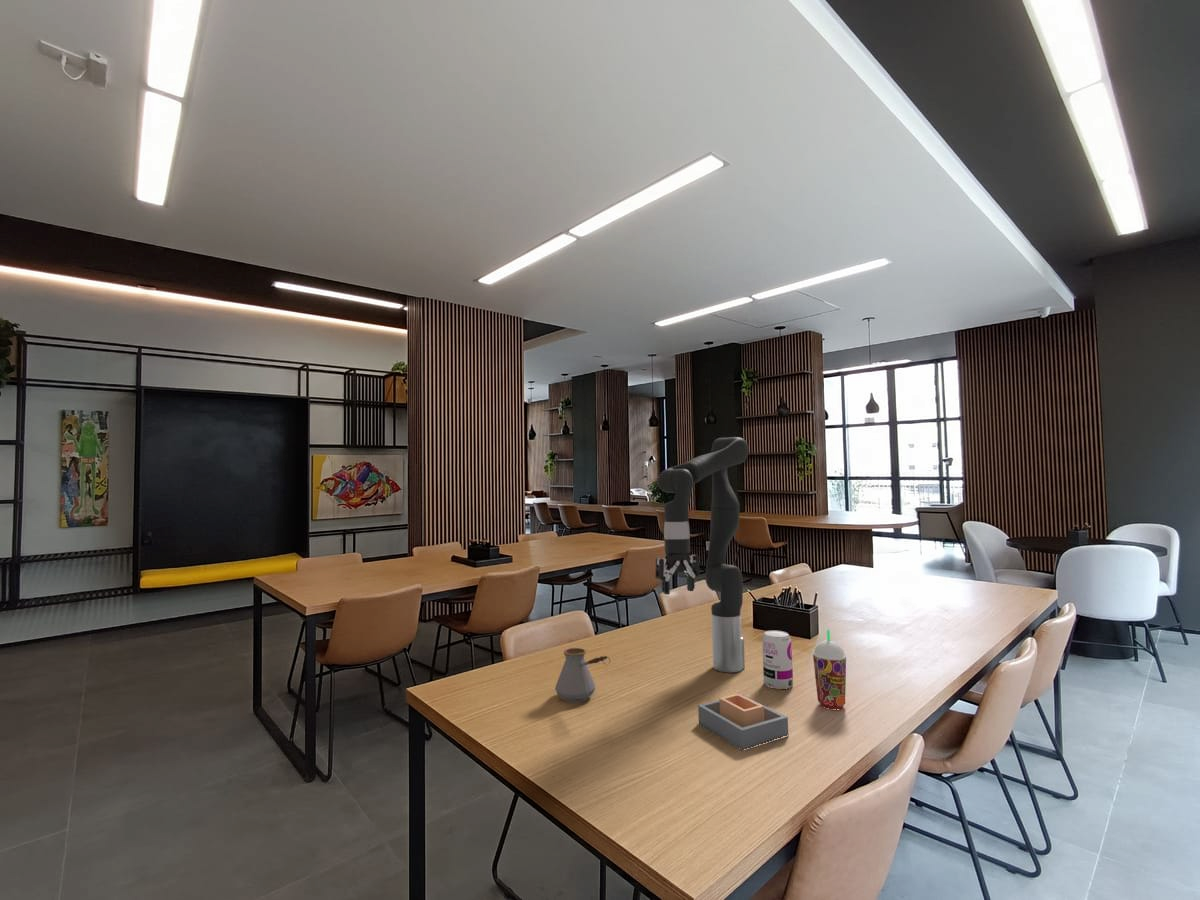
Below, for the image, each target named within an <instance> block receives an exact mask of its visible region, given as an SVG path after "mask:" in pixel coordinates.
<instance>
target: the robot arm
mask: <svg viewBox="0 0 1200 900" xmlns="http://www.w3.org/2000/svg"><path fill="white" fill-rule="evenodd" d="M748 456H749V446H748V443H747V441H746V440H745V439H743V438H742V437H739V436H732V437H719V438H716V439H715V440H714V441H713V443H712V446H711V452H708V453H705V454H702V455H698V456H696V457H694V458H692V459H690V460H688V461H686V462H685V463H681V464H677V465H674V466H671V467H668V468H666V469H664V470H662V472H660V474H659V475H658V479H657V485H658V488H659V489H660V490H661V491H662V492H664V493H668V494H674V498H673V500H670V501H666V503H665V504H664V509H663V510H664V512H663V513H664V526H663V540H664V543H663V544H664V553H665V556H664V558H660V557H656V558H655V574H654V575H655V579H657V580H660V581H661V591H662V593H663V594H664V595H670V581H669V580H670V579H671V577H672V576H673V575H674V573H679V572H684V573H685V576H687V578H686V588H687V589H686V590H687V591H688V592H694V589H695V585H696V584H695V583H696V582H695V578H696V577H697V576H700V575H701V569H700V557H699V555H697V554H690V553H691V535H690V533H691V530H690V523H689V520H690V519H689V505H690V501H691V497H692V492H693V490H694V489H693V488H694V484H696V483H699V482H700V481H702V480H704V479H706V478H707V477H709V476H711V479H712V480H711V482H712V485H711V486H712V487H711V504H710V532H709V543H708V553H707V559H706V564H705V565H706V566H705V573H704V574H705V576H704V579H705V582H706V583H705V584H706V586H707V587H708V589H710V590H711V591H713V592H718V593H720V600H719V601H718V602H715V603H713V604H711V607H710V608H711V609H710V610H711V612H710V613H711V641H712V667H713V669H714V670H715V671H718V672H722V673H729V674H730V673H738V672H741V671H742V670H743V669H745V668H746V666H745V659H746V658H745V639H744V637H742V623H741V621H742V619H741V609H742V607H743V594H744V593H743V591H744V590H743V589H744V581H743V580H744V579H743V574H742V571H741V570H740V568H739V567H738V566H737V565H732V564H727V563H726V561H727V559H726V558H727V551H728V547H729V544H730V543H731V540H732V539H733V537H734V536H735V534H736V531H737V530H738V528H739V524H740V523H739V522H740V502H739V500H738V498H737V495H736V493H735V491H734V490H733V487H732V486H731V485H730V480H729V478H728V477H729V476H728V468H730V467H732V466H736V465H740V464H743V463H745V461H746V460H747V459H748ZM690 565H691V566H690Z"/></svg>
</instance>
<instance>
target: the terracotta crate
mask: <svg viewBox="0 0 1200 900" xmlns="http://www.w3.org/2000/svg"><path fill="white" fill-rule="evenodd" d="M742 695H743V694H740V693H736V694H732V695H728V696H727V695H726V696H722V697H720V698H719V700H720V715H721V716H723V717H724V718H726V719H728V720H730V721H731V722H733V723H735V724H737V725H738V726H740V727H742V728H743V727H747V726H750V725H754V724H757V723H761V722H764V706H765V705H764V706H762V705H763V704H762V705H760V704H761V703H760V704H758V703H759V702H758V703H756V702H757V701H756V702H754V701H755V700H754V701H752V700H753V699H752V700H750V699H751V698H750V699H748V698H749V697H748V698H746V697H747V696H746V697H744V696H745V695H744V696H742Z"/></svg>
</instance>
